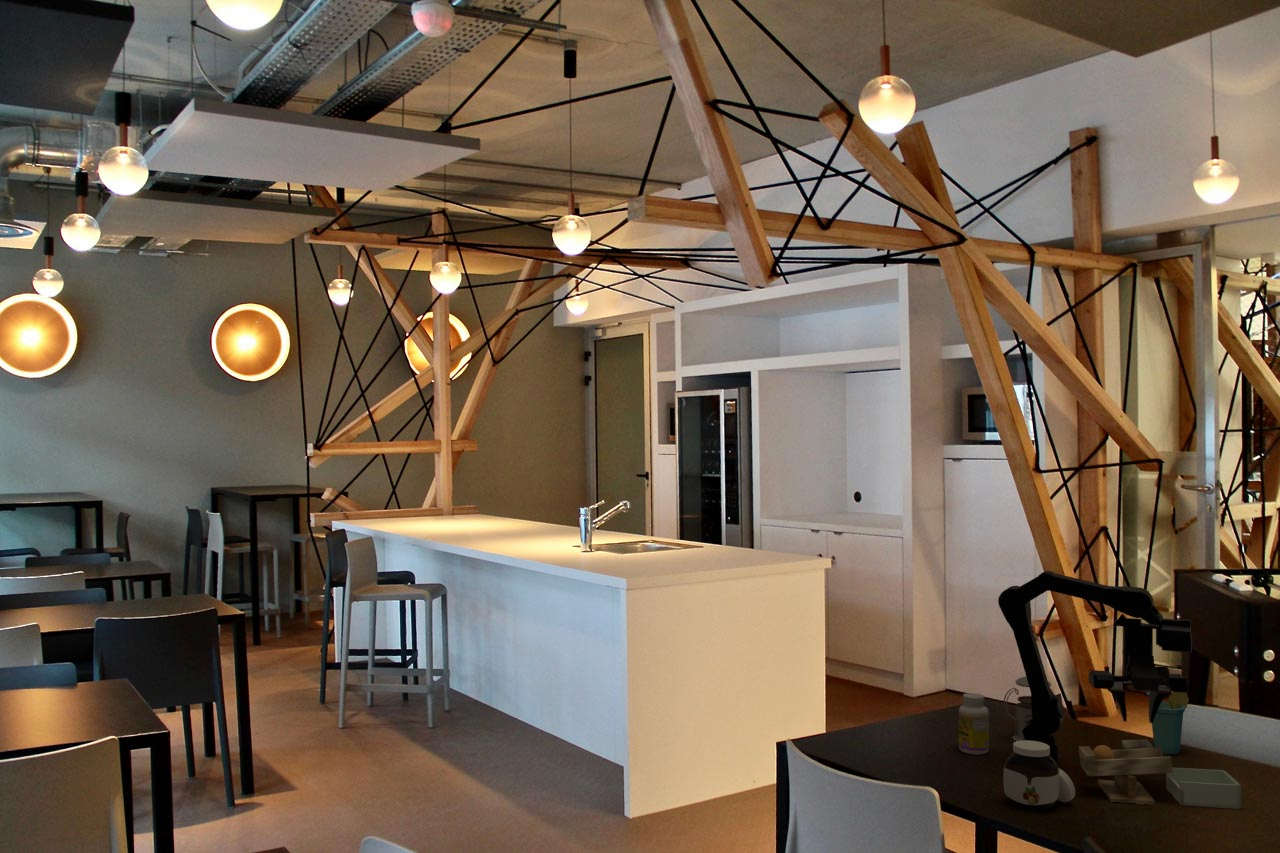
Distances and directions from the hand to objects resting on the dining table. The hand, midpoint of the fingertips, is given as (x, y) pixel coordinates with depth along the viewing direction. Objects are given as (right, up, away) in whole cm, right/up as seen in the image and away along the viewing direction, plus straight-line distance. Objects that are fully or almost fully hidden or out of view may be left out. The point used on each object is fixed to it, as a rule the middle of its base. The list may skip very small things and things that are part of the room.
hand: (1137, 721), depth 230 cm
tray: (+7, -12, -13) cm, 19 cm away
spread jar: (-26, -12, -15) cm, 33 cm away
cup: (+15, -12, +19) cm, 27 cm away
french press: (-13, -12, +29) cm, 34 cm away
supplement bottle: (-29, -12, +20) cm, 37 cm away
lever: (-6, -7, -5) cm, 10 cm away
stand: (-7, -12, -10) cm, 17 cm away
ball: (-11, -4, -9) cm, 15 cm away
